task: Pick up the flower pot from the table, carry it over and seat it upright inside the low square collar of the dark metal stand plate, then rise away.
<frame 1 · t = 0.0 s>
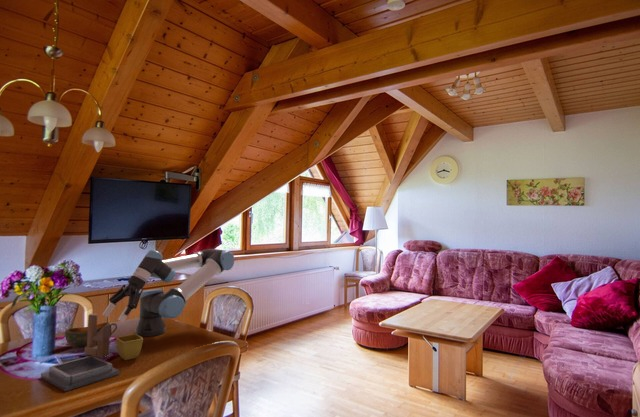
hand: (112, 318, 181), 15 cm above the table, tool tilted 35°, fingers open, 13 cm apart
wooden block: (96, 355, 176), on the table
flower pot: (128, 358, 174), on the table
collar stand: (80, 375, 153), on the table
cup: (90, 345, 189), on the table
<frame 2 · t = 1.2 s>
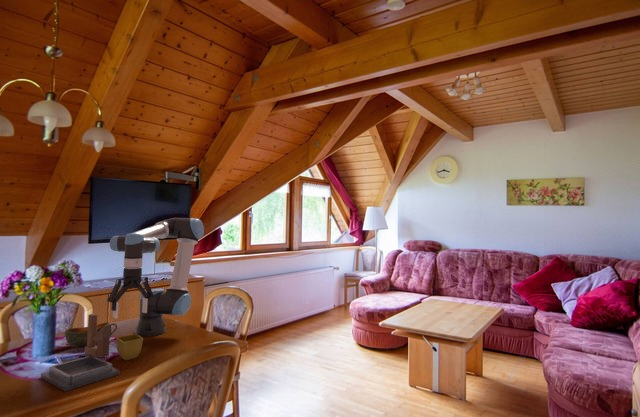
hand: (130, 315, 174), 19 cm above the table, tool pointing down, fingers open, 13 cm apart
nothing on the table moved.
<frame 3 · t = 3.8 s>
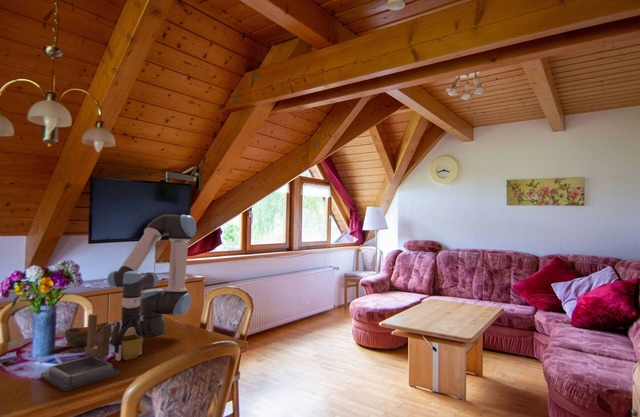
hand: (128, 356, 174), 1 cm above the table, tool pointing down, fingers closed on flower pot, 9 cm apart
flower pot: (128, 358, 174), on the table, touching gripper
everything else where it was.
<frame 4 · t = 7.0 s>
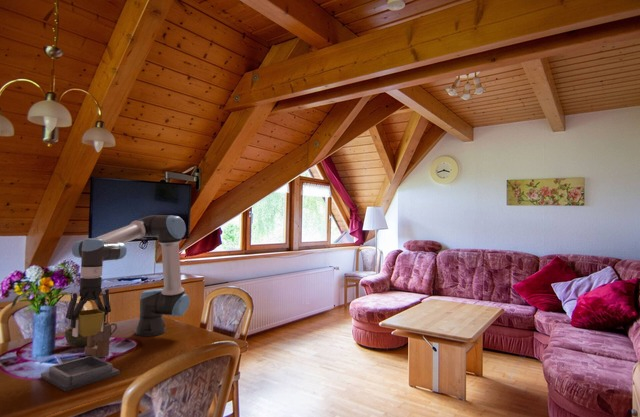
hand: (88, 333, 156), 16 cm above the table, tool pointing down, fingers closed on flower pot, 9 cm apart
flower pot: (88, 335, 156), point 15 cm above the table, touching gripper
everything else where it was.
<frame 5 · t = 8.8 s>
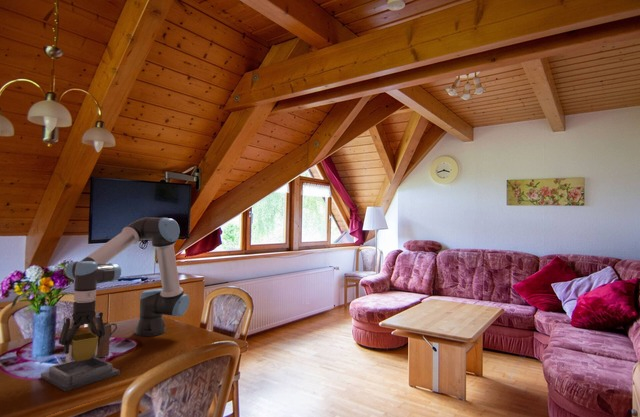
hand: (81, 358, 153), 7 cm above the table, tool pointing down, fingers closed on flower pot, 9 cm apart
flower pot: (81, 359, 153), point 6 cm above the table, touching gripper
everything else where it was.
when the fingers open (4 cm above the table, at t = 10.3 s): flower pot drops 2 cm, resting on collar stand.
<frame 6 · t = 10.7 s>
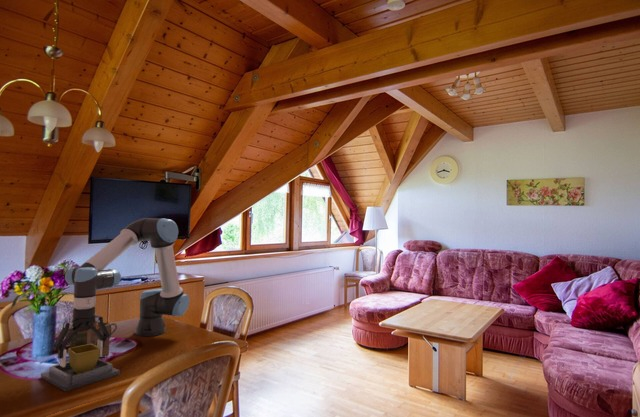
hand: (81, 361, 154), 6 cm above the table, tool pointing down, fingers open, 13 cm apart
flower pot: (82, 371, 154), point 1 cm above the table, touching collar stand
everything else where it was.
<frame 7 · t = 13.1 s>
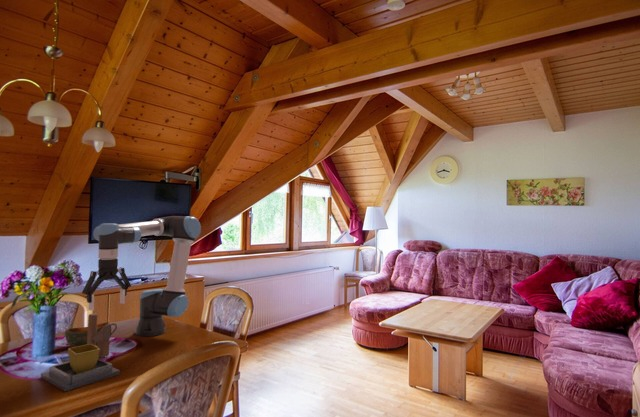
hand: (107, 306, 171), 23 cm above the table, tool pointing down, fingers open, 13 cm apart
nothing on the table moved.
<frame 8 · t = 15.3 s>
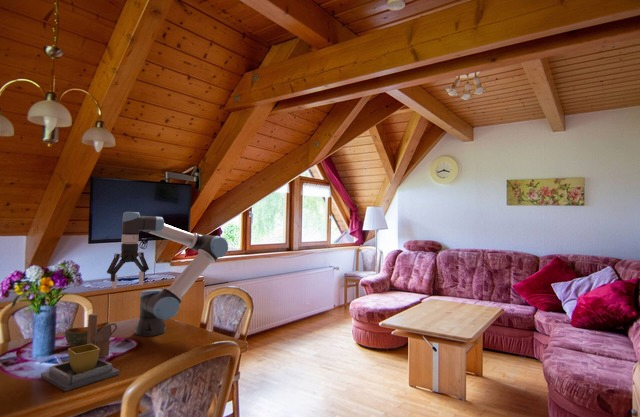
hand: (127, 286, 191), 29 cm above the table, tool pointing down, fingers open, 13 cm apart
nothing on the table moved.
at the end: flower pot 0.7 cm off-centre on the collar stand, point 1.3 cm above the collar stand's base; flower pot tilted 0°; the gripper is holding nothing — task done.
